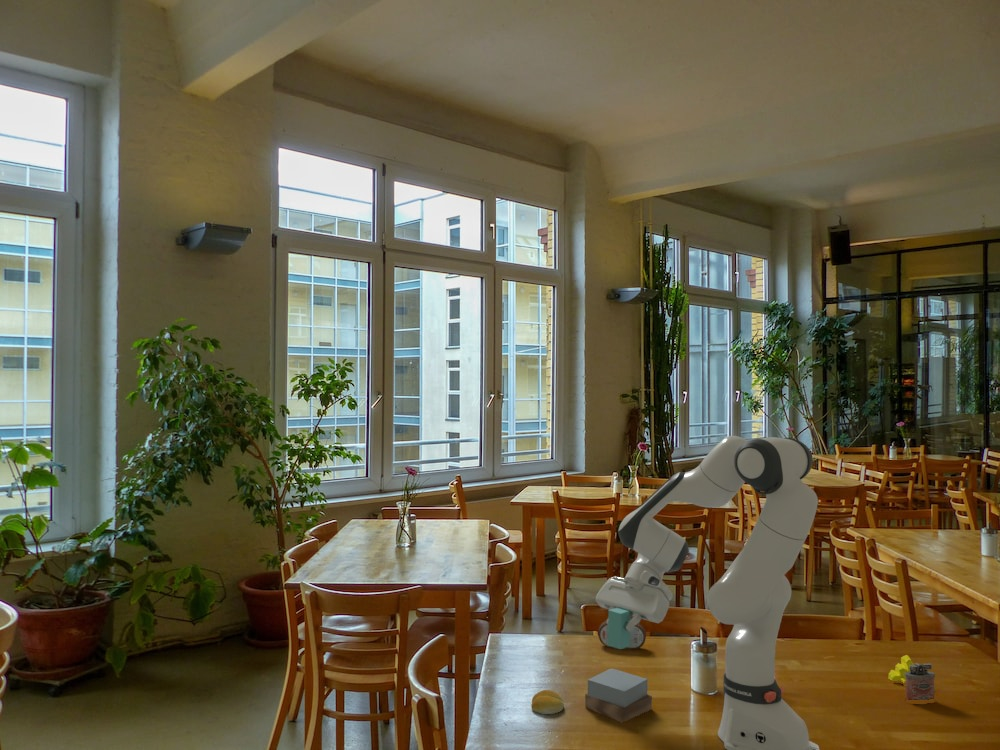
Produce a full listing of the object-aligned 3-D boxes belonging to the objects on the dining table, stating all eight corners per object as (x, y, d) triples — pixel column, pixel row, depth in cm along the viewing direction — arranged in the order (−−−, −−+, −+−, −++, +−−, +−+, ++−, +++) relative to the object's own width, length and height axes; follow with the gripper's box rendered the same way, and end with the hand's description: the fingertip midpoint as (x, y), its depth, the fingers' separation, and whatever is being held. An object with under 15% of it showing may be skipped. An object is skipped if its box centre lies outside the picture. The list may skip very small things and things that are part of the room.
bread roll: (530, 715, 195) (530, 699, 195) (532, 701, 204) (532, 685, 204) (563, 716, 194) (563, 700, 194) (564, 702, 203) (564, 687, 203)
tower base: (651, 711, 199) (651, 695, 199) (622, 725, 191) (622, 708, 191) (614, 697, 207) (615, 682, 208) (585, 709, 199) (585, 694, 199)
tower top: (647, 694, 200) (647, 679, 200) (624, 707, 191) (624, 691, 191) (611, 683, 207) (611, 668, 207) (587, 695, 198) (587, 679, 198)
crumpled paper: (883, 679, 222) (883, 651, 222) (909, 677, 223) (909, 650, 223) (896, 686, 216) (896, 658, 216) (923, 685, 217) (923, 657, 217)
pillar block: (630, 645, 199) (630, 610, 199) (620, 649, 196) (620, 613, 196) (617, 642, 202) (618, 607, 202) (608, 645, 199) (608, 610, 199)
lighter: (910, 705, 203) (910, 666, 203) (901, 700, 206) (902, 662, 207) (938, 703, 204) (938, 665, 205) (929, 698, 208) (929, 661, 208)
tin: (645, 647, 246) (646, 621, 246) (646, 651, 243) (646, 624, 243) (598, 644, 249) (598, 618, 249) (597, 647, 246) (597, 621, 246)
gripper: (605, 568, 212) (581, 611, 205) (668, 583, 197) (644, 629, 190) (615, 582, 215) (592, 624, 208) (678, 597, 199) (655, 643, 193)
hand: (617, 627), depth 199 cm, fingers closed on pillar block, 4 cm apart
